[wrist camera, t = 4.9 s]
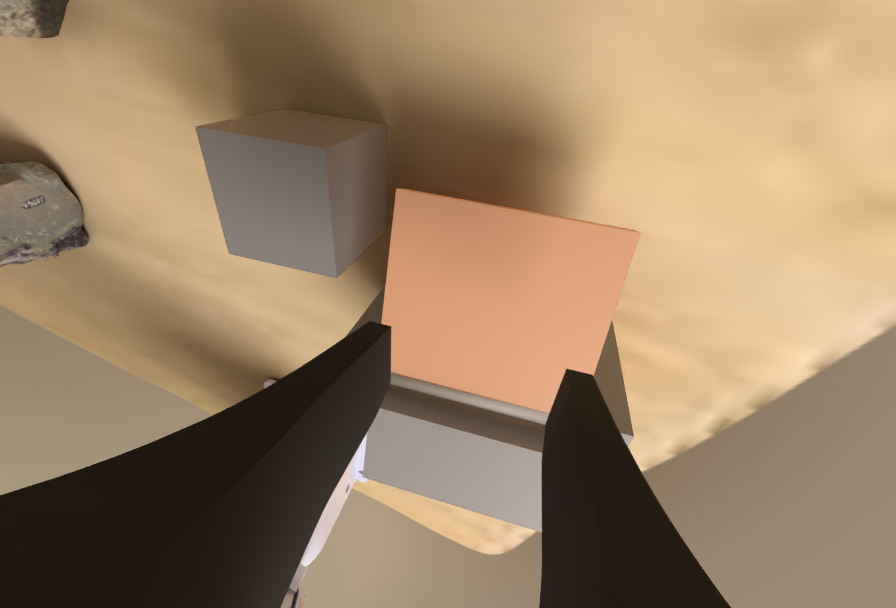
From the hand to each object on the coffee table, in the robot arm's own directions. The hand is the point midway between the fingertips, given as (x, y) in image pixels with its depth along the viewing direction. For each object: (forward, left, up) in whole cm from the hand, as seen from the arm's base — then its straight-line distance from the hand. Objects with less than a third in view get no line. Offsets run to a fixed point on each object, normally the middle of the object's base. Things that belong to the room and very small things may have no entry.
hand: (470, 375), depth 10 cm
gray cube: (+2, +9, -10) cm, 13 cm away
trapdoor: (-3, 0, -5) cm, 6 cm away
